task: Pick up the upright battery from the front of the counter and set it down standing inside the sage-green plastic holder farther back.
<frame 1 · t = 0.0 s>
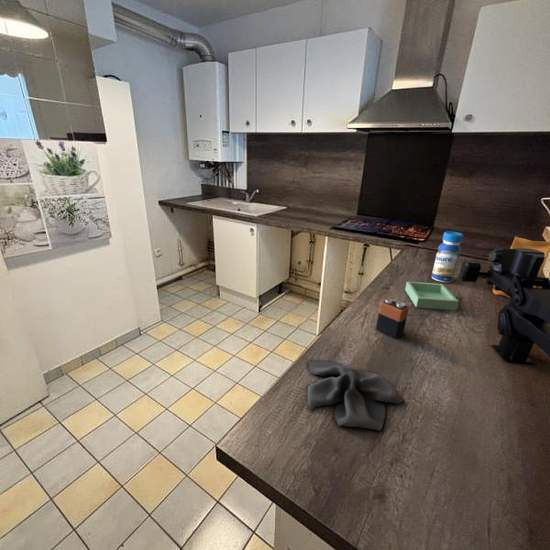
hand: (481, 263, 94), 17 cm above the worktop, tool horizontal, fingers open, 9 cm apart
coffee package: (510, 295, 111), on the worktop
battery: (389, 332, 86), on the worktop
cloth: (344, 391, 64), on the worktop
holder: (428, 299, 106), on the worktop
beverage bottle: (441, 279, 124), on the worktop
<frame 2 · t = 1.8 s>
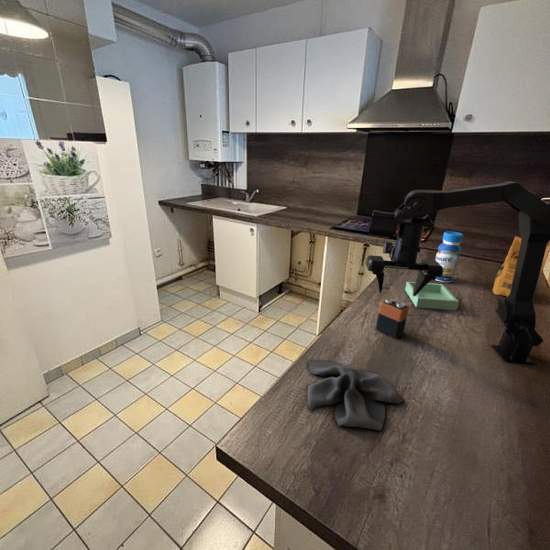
hand: (396, 294, 82), 12 cm above the worktop, tool pointing down, fingers open, 9 cm apart
nothing on the worktop moved.
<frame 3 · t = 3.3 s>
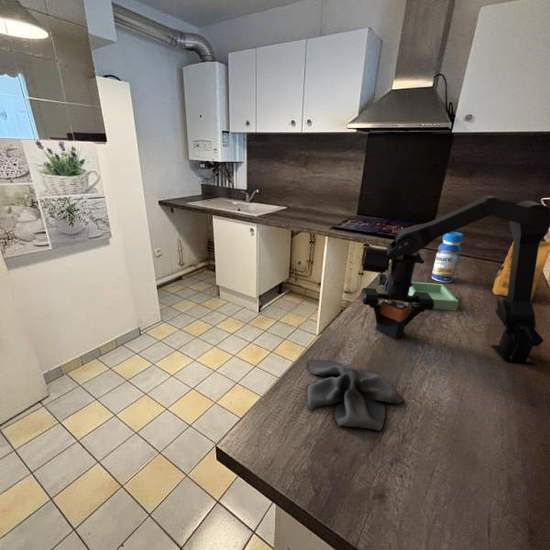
hand: (390, 324, 85), 3 cm above the worktop, tool pointing down, fingers closed on battery, 7 cm apart
battery: (389, 332, 86), on the worktop, touching gripper
everything else where it was.
when the fingers open (3 cm above the worktop, at t = 10.0 s): battery stays where it is, resting on holder.
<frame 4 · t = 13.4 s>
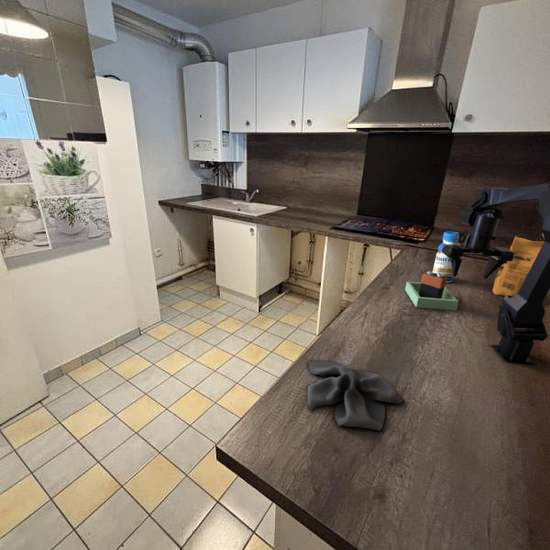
hand: (469, 277, 95), 12 cm above the worktop, tool pointing down, fingers open, 9 cm apart
battery: (429, 298, 106), resting on holder
everything else where it was.
at the end: battery inside the target area in the holder (0.1 cm from its centre), point 0.4 cm above the holder's base; battery tilted 0°; the gripper is holding nothing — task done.
